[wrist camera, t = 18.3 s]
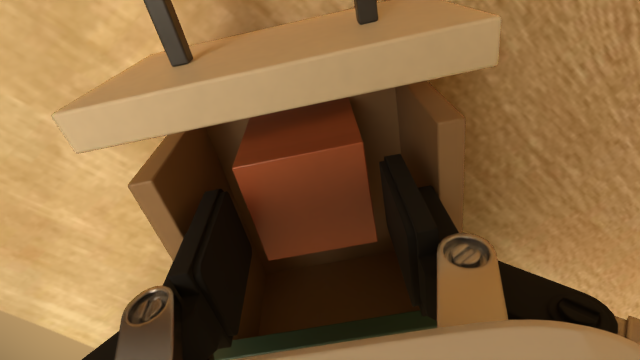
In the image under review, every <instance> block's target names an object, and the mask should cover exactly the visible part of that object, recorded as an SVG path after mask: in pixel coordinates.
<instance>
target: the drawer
mask: <svg viewBox="0 0 640 360" xmlns="http://www.w3.org/2000/svg"><path fill="white" fill-rule="evenodd" d="M144 3H145V5H146V7H147V10H148V12H149V14H150V17H151V19H152V21H153V24H154V26H155V28H156V31H157V33H158V35H159V38H160V40H161V42H162V45H163V47H164V49H165V51H164V52H160V53H156V54H151V55H149V56H148V57H146V58H144V59H143V60H141V61H139V62H138V63H136V64H134V65H133V66H131V67H129V68H128V69H126V70H124V71H123V72H121V73H119V74H118V75H116V76H114V77H113V78H111V79H109V80H108V81H106V82H104V83H103V84H101V85H99V86H98V87H96V88H94V89H93V90H91V91H89V92H88V93H86V94H84V95H83V96H81V97H79V98H78V99H76V100H74V101H73V102H71V103H69V104H68V105H66V106H64V107H63V108H61V109H59V110H58V111H56V112H54V113H53V114H52V118H53V120H54V121H55V123H56V124H57V126H58V127H59V129H60V130H61V132H62V133H63V135H64V136H65V138H66V139H67V141H68V142H69V144H70V146H71V147H72V149H73V150H74V152H76V153H84V152H88V151H93V150H98V149H103V148H108V147H112V146H117V145H122V144H127V143H131V142H136V141H141V140H146V139H151V138H155V137H160V136H165V135H167V136H166V137H165V139H164V140H163V141H162V142H161V144H160V145H159V146H158V147H157V149H156V150H155V151H154V153H153V154H152V155H151V156H150V158H149V159H148V160H147V161H146V163H145V164H144V165H143V166H142V168H141V169H140V170H139V171H138V173H137V174H136V175H135V177H134V178H133V179H132V180H131V182H130V183H129V184H128V188H129V189H130V191H131V192H132V194H133V196H134V197H135V199H136V201H137V202H138V204H139V206H140V207H141V209H142V211H143V212H144V214H145V215H146V217H147V219H148V220H149V222H150V224H151V225H152V227H153V229H154V230H155V232H156V234H157V235H158V237H159V238H160V240H161V242H162V243H163V245H164V247H165V248H166V250H167V252H168V253H169V255H170V257H171V258H172V260H173V261H174V259H175V257H176V254H177V252H178V250H179V247H180V245H181V243H182V241H183V238H184V236H185V234H186V233H187V231H188V229H189V227H190V224H191V222H192V220H193V217H194V215H195V213H196V211H197V208H198V206H199V204H200V201H201V199H202V197H203V194H204V193H205V192H206V191H211V190H216V189H222V190H223V191H224V192H226V191H227V192H228V193H229V194H230V197H231V199H232V201H233V204H234V206H235V209H236V211H237V213H238V216H239V218H240V220H241V223H242V225H243V227H244V230H245V232H246V235H247V237H248V239H249V242H250V244H251V247H252V258H251V264H250V269H249V275H248V281H247V286H246V292H245V298H244V303H243V309H242V314H241V320H240V326H239V331H238V334H237V335H235V336H233V340H237V339H243V338H250V337H256V336H262V335H268V334H274V333H281V332H287V331H293V330H299V329H306V328H312V327H318V326H324V325H331V324H337V323H343V322H349V321H355V320H362V319H368V318H374V317H380V316H387V315H393V314H399V313H405V312H411V311H418V310H420V308H419V306H415V307H413V306H412V304H411V301H410V298H409V294H408V291H407V288H406V285H405V282H404V278H403V275H402V272H401V269H400V266H399V263H398V259H397V256H396V253H395V250H394V247H393V244H392V240H391V237H390V234H389V231H388V227H387V222H386V215H385V207H384V199H383V191H382V183H381V175H380V167H379V162H381V161H384V157H385V156H390V155H395V154H401V156H402V158H403V160H404V162H405V164H406V165H407V167H408V169H409V171H410V173H411V175H412V177H413V179H414V181H415V183H416V185H417V187H418V188H419V187H424V186H429V185H431V186H432V187H433V188H434V190H435V192H436V193H437V195H438V197H439V199H440V200H441V202H442V204H443V206H444V207H445V209H446V211H447V213H448V214H449V216H450V218H451V220H452V221H453V223H454V225H455V227H456V228H457V230H458V232H459V233H462V224H463V189H464V154H465V117H464V116H463V115H462V114H461V113H460V112H459V111H458V110H457V109H456V108H455V107H454V106H452V105H451V104H450V103H449V102H448V101H447V100H446V99H445V98H444V97H443V96H442V95H441V94H440V93H439V92H438V91H437V90H436V89H435V88H434V87H433V86H432V85H431V84H430V83H429V82H428V80H432V79H437V78H442V77H447V76H451V75H456V74H461V73H466V72H471V71H475V70H480V69H485V68H490V67H494V66H496V65H497V64H498V59H499V46H500V32H501V16H499V15H495V14H492V13H488V12H484V11H480V10H477V9H473V8H469V7H466V6H462V5H458V4H455V3H451V2H447V1H444V0H388V1H383V2H379V3H377V0H354V4H355V8H353V9H348V10H344V11H340V12H335V13H331V14H326V15H322V16H318V17H313V18H309V19H305V20H300V21H296V22H291V23H287V24H283V25H278V26H274V27H270V28H265V29H261V30H256V31H252V32H248V33H243V34H239V35H235V36H230V37H226V38H221V39H217V40H213V41H208V42H204V43H199V44H195V45H191V46H188V43H187V41H186V38H185V35H184V33H183V30H182V28H181V25H180V23H179V20H178V17H177V15H176V12H175V10H174V7H173V5H172V2H171V0H144ZM346 97H348V98H349V101H350V104H351V107H352V110H353V113H354V116H355V119H356V122H357V125H358V128H359V131H360V134H361V137H362V140H363V144H364V151H365V157H366V164H367V171H368V177H369V184H370V191H371V198H372V204H373V211H374V218H375V224H376V231H377V238H378V241H377V242H373V243H367V244H361V245H356V246H350V247H344V248H339V249H333V250H327V251H322V252H316V253H310V254H305V255H299V256H293V257H288V258H282V259H277V260H271V261H269V260H268V258H267V256H266V253H265V251H264V248H263V246H262V243H261V240H260V238H259V235H258V233H257V230H256V228H255V225H254V223H253V220H252V218H251V215H250V213H249V210H248V208H247V205H246V203H245V200H244V198H243V195H242V193H241V190H240V188H239V185H238V183H237V180H236V178H235V175H234V173H233V170H232V166H233V164H234V161H235V158H236V155H237V152H238V149H239V146H240V144H241V141H242V138H243V135H244V132H245V129H246V126H247V124H248V121H249V118H251V117H256V116H260V115H265V114H270V113H275V112H279V111H284V110H289V109H294V108H299V107H303V106H308V105H313V104H318V103H322V102H327V101H332V100H337V99H342V98H346Z"/></svg>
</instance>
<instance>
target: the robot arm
mask: <svg viewBox="0 0 640 360" xmlns="http://www.w3.org/2000/svg"><path fill="white" fill-rule="evenodd" d="M379 167H380V175H381V183H382V191H383V199H384V207H385V215H386V222H387V227H388V231H389V234H390V237H391V240H392V244H393V247H394V250H395V253H396V256H397V259H398V263H399V266H400V269H401V272H402V275H403V278H404V282H405V285H406V288H407V291H408V294H409V298H410V301H411V304H412V306H413V307H415V306H419V308H420V311H421V314H422V317H423V316H428V317H430V318H432V319H433V320H435V321H437V328H435V329H427V330H420V331H414V332H407V333H400V334H394V335H387V336H380V337H374V338H367V339H361V340H354V341H347V342H341V343H334V344H328V345H321V346H315V347H308V348H302V349H295V350H289V351H283V352H276V353H270V354H264V355H257V356H251V357H245V358H238V359H232V360H640V319H637V318H634V317H632V316H628V318H627V320H625V319H622V318H619V317H616V316H614V314H613V313H612V312H611V311H610V310H609V309H608V307H607V306H605V305H604V304H603V303H601V302H600V301H599V300H597V299H596V298H594V297H592V296H590V295H587V294H585V293H583V292H580V291H577V290H575V289H572V288H569V287H567V286H564V285H561V284H559V283H556V282H554V281H551V280H548V279H546V278H543V277H540V276H538V275H535V274H532V273H530V272H527V271H524V270H522V269H519V268H516V267H514V266H511V265H508V264H506V263H503V262H500V261H498V260H497V255H496V252H495V249H494V247H493V246H492V245H491V244H490V243H489V242H488V241H487V240H485V239H484V238H482V237H480V236H477V235H474V234H468V233H459V232H458V230H457V228H456V227H455V225H454V223H453V221H452V220H451V218H450V216H449V214H448V213H447V211H446V209H445V207H444V206H443V204H442V202H441V200H440V199H439V197H438V195H437V193H436V192H435V190H434V188H433V187H432V186H431V185H429V186H424V187H419V188H418V187H417V185H416V183H415V181H414V179H413V177H412V175H411V173H410V171H409V169H408V167H407V165H406V164H405V162H404V160H403V158H402V156H401V154H395V155H390V156H385V157H384V161H381V162H379ZM251 258H252V247H251V244H250V242H249V239H248V237H247V235H246V232H245V230H244V227H243V225H242V223H241V220H240V218H239V216H238V213H237V211H236V209H235V206H234V204H233V201H232V199H231V197H230V194H229V193H228V192H227V191H226V192H224V191H223V190H222V189H216V190H211V191H206V192H205V193H204V194H203V197H202V199H201V201H200V204H199V206H198V208H197V211H196V213H195V215H194V217H193V220H192V222H191V224H190V227H189V229H188V231H187V233H186V234H185V236H184V238H183V241H182V243H181V245H180V247H179V250H178V252H177V254H176V257H175V259H174V261H173V264H172V266H171V268H170V270H169V273H168V275H167V277H166V280H165V282H164V284H163V286H155V287H152V288H149V289H147V290H145V291H143V292H141V293H140V294H139V295H137V296H136V297H135V298H134V299H133V300H132V301H131V302H130V303H129V304H128V305H127V307H126V308H125V310H124V312H123V315H122V319H121V324H120V330H119V331H118V332H117V333H116V334H115V335H113V336H112V337H111V338H109V339H108V340H107V341H105V342H104V343H103V344H101V345H100V346H99V347H98V348H96V349H95V350H94V351H92V352H91V353H90V354H88V355H87V356H86V357H84V358H83V359H82V360H214V355H213V353H214V352H215V351H217V350H218V349H222V348H229V347H231V345H232V340H233V336H235V335H237V334H238V331H239V326H240V320H241V314H242V309H243V303H244V298H245V292H246V286H247V281H248V275H249V269H250V264H251Z"/></svg>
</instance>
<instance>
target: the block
mask: <svg viewBox="0 0 640 360" xmlns="http://www.w3.org/2000/svg"><path fill="white" fill-rule="evenodd" d="M232 170H233V173H234V175H235V178H236V180H237V183H238V185H239V188H240V190H241V193H242V195H243V198H244V200H245V203H246V205H247V208H248V210H249V213H250V215H251V218H252V220H253V223H254V225H255V228H256V230H257V233H258V235H259V238H260V240H261V243H262V246H263V248H264V251H265V253H266V256H267V258H268V260H269V261H271V260H277V259H282V258H288V257H293V256H299V255H305V254H310V253H316V252H322V251H327V250H333V249H339V248H344V247H350V246H356V245H361V244H367V243H373V242H377V241H378V238H377V231H376V224H375V218H374V211H373V204H372V198H371V191H370V184H369V177H368V171H367V164H366V157H365V151H364V144H363V140H362V137H361V134H360V131H359V128H358V125H357V122H356V119H355V116H354V113H353V110H352V107H351V104H350V101H349V98H348V97H346V98H342V99H337V100H332V101H327V102H322V103H318V104H313V105H308V106H303V107H299V108H294V109H289V110H284V111H279V112H275V113H270V114H265V115H260V116H256V117H251V118H249V121H248V124H247V126H246V129H245V132H244V135H243V138H242V141H241V144H240V146H239V149H238V152H237V155H236V158H235V161H234V164H233V166H232Z"/></svg>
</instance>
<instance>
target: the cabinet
mask: <svg viewBox="0 0 640 360" xmlns="http://www.w3.org/2000/svg"><path fill="white" fill-rule="evenodd" d="M435 328H437V321H435V320H433V319H432V318H430V317H428V316H423V317H422V314H421V311H420V310H418V311H411V312H405V313H399V314H393V315H387V316H380V317H374V318H368V319H362V320H355V321H349V322H343V323H337V324H331V325H324V326H318V327H312V328H306V329H299V330H293V331H287V332H281V333H274V334H268V335H262V336H256V337H250V338H243V339H237V340H232V345H231V347H229V348H222V349H218V350H217V351H215V352H214V353H213V355H214V360H232V359H238V358H245V357H251V356H257V355H264V354H270V353H276V352H283V351H289V350H295V349H302V348H308V347H315V346H321V345H328V344H334V343H341V342H347V341H354V340H361V339H367V338H374V337H380V336H387V335H394V334H400V333H407V332H414V331H420V330H427V329H435Z"/></svg>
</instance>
